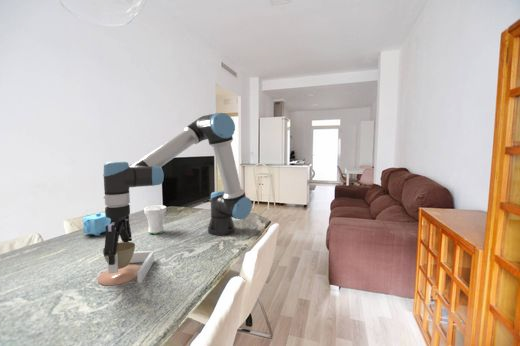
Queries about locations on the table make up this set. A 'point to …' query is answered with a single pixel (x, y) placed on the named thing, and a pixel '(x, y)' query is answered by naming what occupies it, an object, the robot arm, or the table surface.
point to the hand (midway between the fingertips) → (119, 265)
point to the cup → (155, 218)
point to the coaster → (119, 275)
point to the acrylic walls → (148, 261)
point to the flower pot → (123, 253)
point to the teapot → (95, 223)
